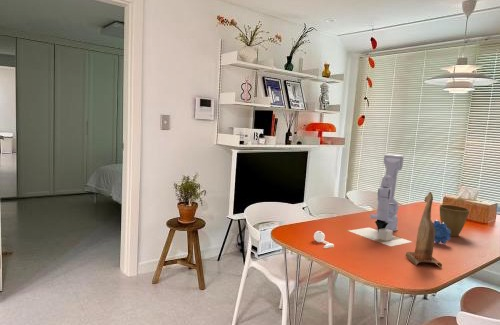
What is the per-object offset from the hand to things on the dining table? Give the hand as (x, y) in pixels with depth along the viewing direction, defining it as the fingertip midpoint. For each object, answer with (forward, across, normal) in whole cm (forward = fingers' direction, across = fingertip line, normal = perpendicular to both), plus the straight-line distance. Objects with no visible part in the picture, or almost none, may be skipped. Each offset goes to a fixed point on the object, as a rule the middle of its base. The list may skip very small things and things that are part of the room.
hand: (380, 234), depth 190 cm
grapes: (+2, +20, +20) cm, 28 cm away
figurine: (+2, -4, -39) cm, 39 cm away
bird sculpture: (+2, +33, -14) cm, 36 cm away
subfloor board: (+1, -1, 0) cm, 2 cm away
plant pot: (+2, +14, +45) cm, 47 cm away
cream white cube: (+2, +4, -2) cm, 5 cm away
